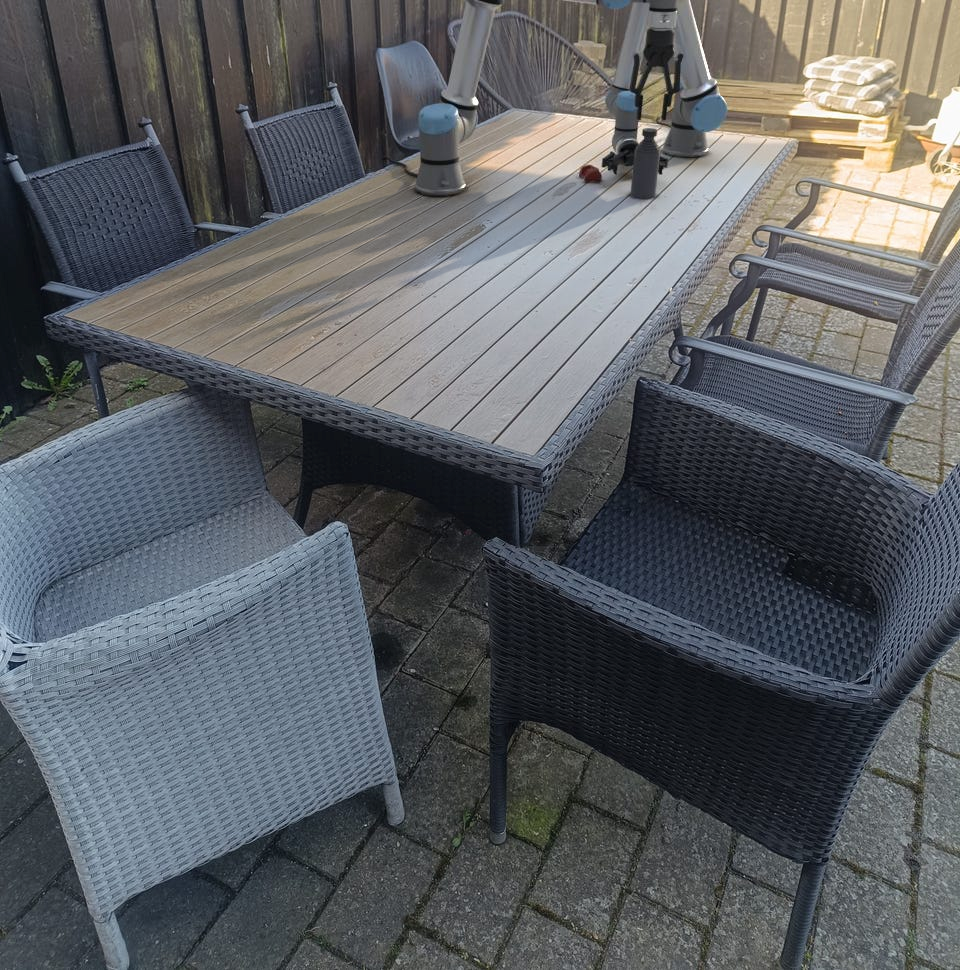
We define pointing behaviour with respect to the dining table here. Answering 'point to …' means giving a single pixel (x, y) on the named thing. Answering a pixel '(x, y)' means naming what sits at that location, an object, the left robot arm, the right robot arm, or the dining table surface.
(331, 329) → the dining table surface
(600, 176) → the dental model
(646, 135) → the cap
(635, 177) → the bottle
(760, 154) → the dining table surface
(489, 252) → the dining table surface
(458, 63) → the left robot arm
